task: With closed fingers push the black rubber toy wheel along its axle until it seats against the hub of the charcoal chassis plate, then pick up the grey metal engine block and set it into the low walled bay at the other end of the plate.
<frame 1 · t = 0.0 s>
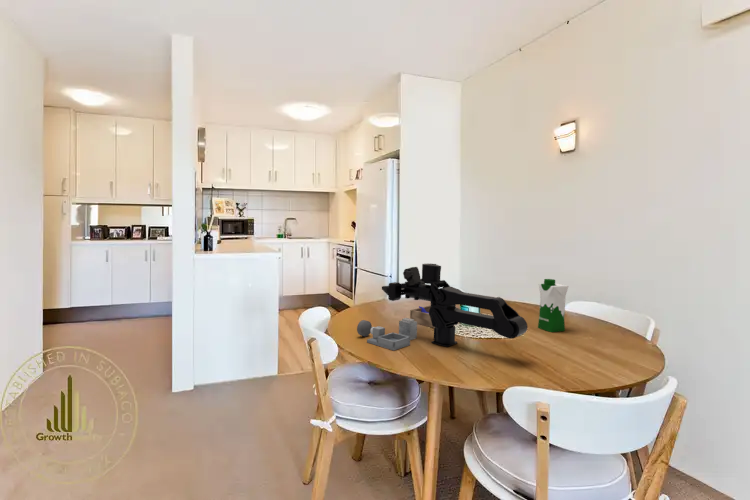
hand: (390, 286, 155), 17 cm above the table, tool horizontal, fingers open, 9 cm apart
wheel: (364, 328, 145), point 3 cm above the table, slide at 3.0 cm
toy corral: (436, 320, 169), on the table
milk carton: (551, 329, 160), on the table
chassis: (388, 343, 137), on the table
engine block: (407, 337, 144), on the table
fish toy: (436, 320, 170), touching toy corral
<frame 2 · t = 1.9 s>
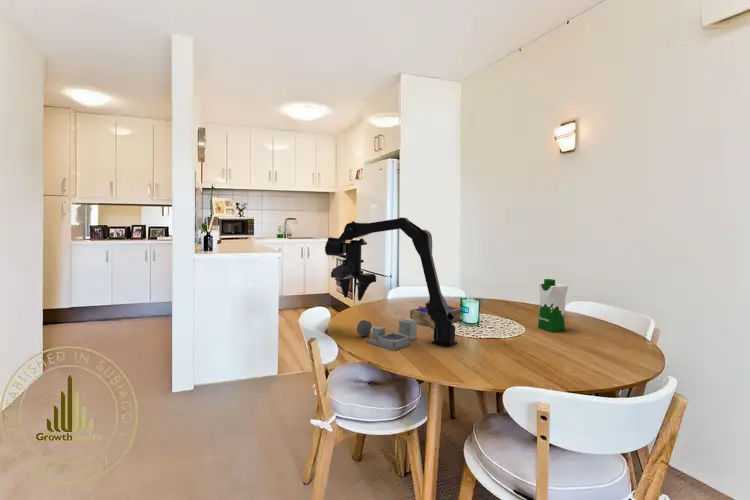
hand: (352, 299, 148), 13 cm above the table, tool pointing down, fingers open, 7 cm apart
nothing on the table moved.
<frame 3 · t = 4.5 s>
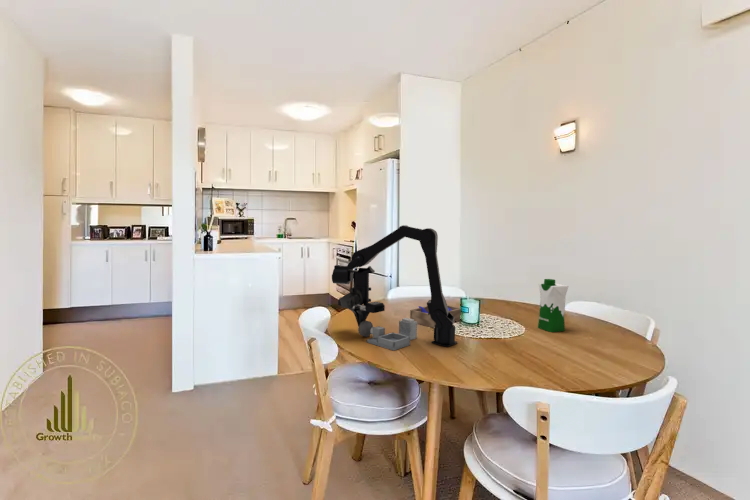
hand: (360, 327, 146), 3 cm above the table, tool pointing down, fingers closed
wheel: (365, 328, 144), point 3 cm above the table, slide at 2.4 cm, touching gripper
everything else where it was.
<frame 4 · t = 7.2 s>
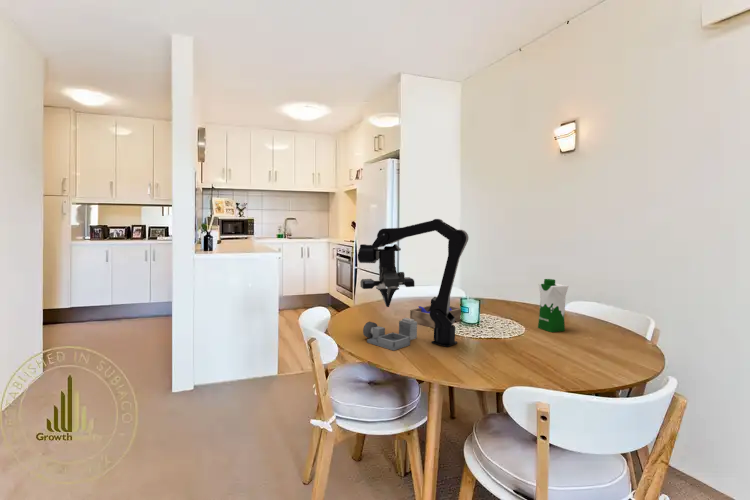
hand: (387, 306, 144), 11 cm above the table, tool pointing down, fingers closed
wheel: (370, 329, 142), point 3 cm above the table, slide at -0.1 cm
everything else where it was.
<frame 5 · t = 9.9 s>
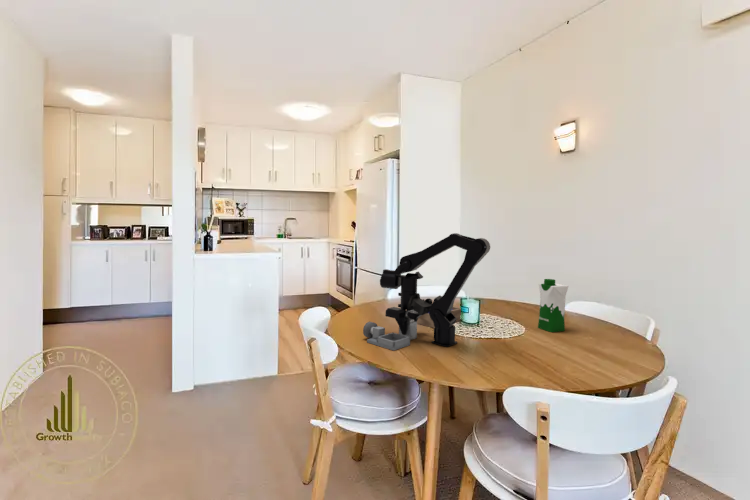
hand: (407, 333, 144), 2 cm above the table, tool pointing down, fingers closed on engine block, 4 cm apart
engine block: (407, 337, 144), on the table, touching gripper
everything else where it was.
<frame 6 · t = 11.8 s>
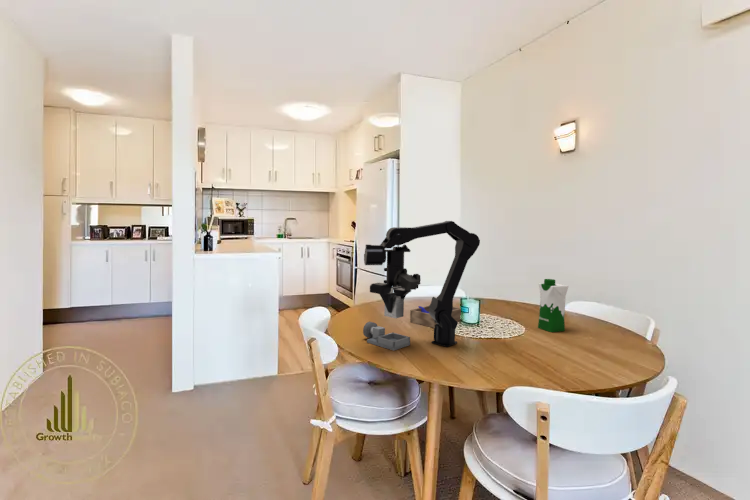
hand: (394, 311, 134), 11 cm above the table, tool pointing down, fingers closed on engine block, 4 cm apart
engine block: (393, 316, 135), point 10 cm above the table, touching gripper
everything else where it was.
when the fingers open (3 cm above the table, at t = 14.0 s): engine block stays where it is, resting on chassis.
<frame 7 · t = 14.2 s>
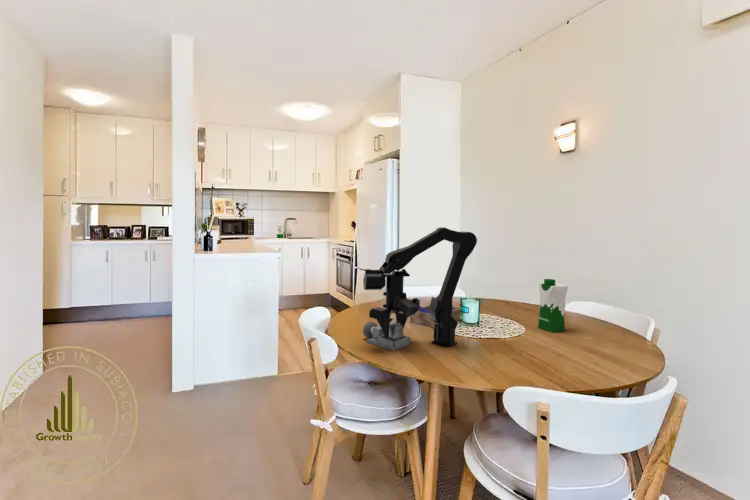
hand: (393, 335, 135), 3 cm above the table, tool pointing down, fingers open, 7 cm apart
engine block: (393, 342, 135), point 1 cm above the table, touching chassis
everything else where it was.
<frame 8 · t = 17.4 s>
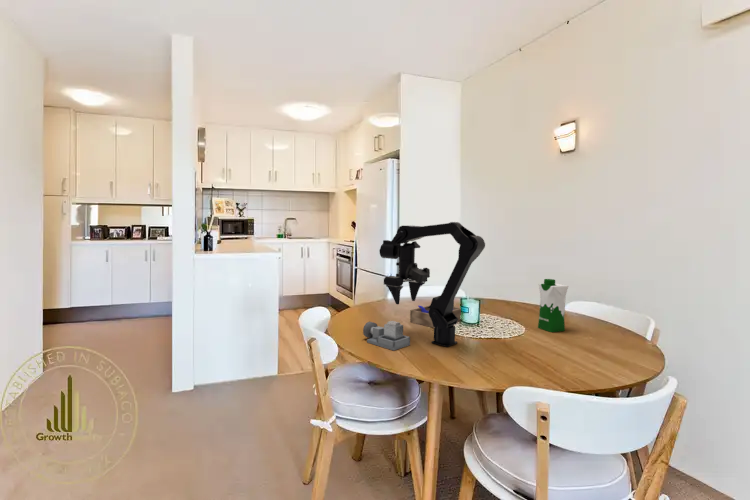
hand: (405, 302, 147), 12 cm above the table, tool pointing down, fingers open, 9 cm apart
nothing on the table moved.
at the end: wheel slide at -0.1 cm; engine block 0.0 cm from the target spot on the chassis, point 1.0 cm above the chassis's base; engine block tilted 0° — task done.
